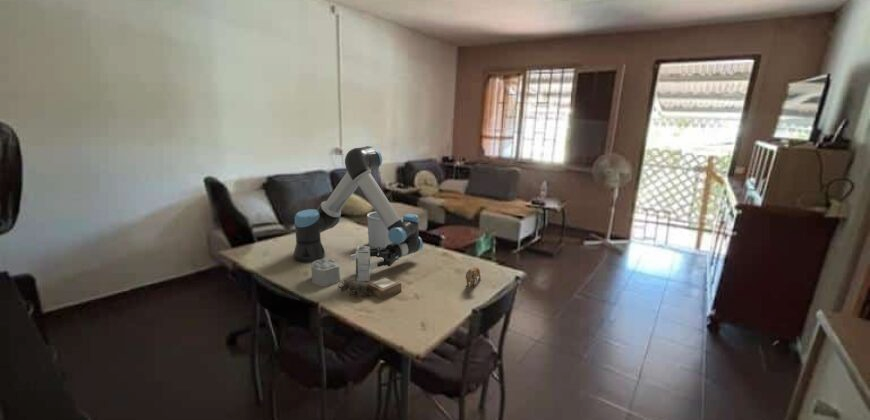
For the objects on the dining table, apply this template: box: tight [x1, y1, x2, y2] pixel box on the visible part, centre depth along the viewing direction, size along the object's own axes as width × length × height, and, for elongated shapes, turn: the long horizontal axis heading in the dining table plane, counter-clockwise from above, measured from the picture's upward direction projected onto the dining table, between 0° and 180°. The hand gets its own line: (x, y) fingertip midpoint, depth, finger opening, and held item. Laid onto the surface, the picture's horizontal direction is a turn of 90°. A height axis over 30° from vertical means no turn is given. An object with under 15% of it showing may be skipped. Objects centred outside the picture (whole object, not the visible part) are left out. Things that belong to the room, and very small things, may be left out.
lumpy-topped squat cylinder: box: [310, 257, 341, 287], centre depth 167 cm, size 10×13×9 cm
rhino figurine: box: [338, 279, 371, 299], centre depth 154 cm, size 4×14×6 cm, turn 75°
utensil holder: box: [366, 211, 392, 249], centre depth 212 cm, size 15×15×18 cm
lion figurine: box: [465, 266, 482, 289], centre depth 165 cm, size 15×5×9 cm, turn 164°
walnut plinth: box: [366, 276, 402, 300], centre depth 157 cm, size 10×10×4 cm
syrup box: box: [355, 245, 371, 282], centre depth 167 cm, size 6×6×14 cm
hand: (360, 262), depth 166 cm, fingers open, 13 cm apart
